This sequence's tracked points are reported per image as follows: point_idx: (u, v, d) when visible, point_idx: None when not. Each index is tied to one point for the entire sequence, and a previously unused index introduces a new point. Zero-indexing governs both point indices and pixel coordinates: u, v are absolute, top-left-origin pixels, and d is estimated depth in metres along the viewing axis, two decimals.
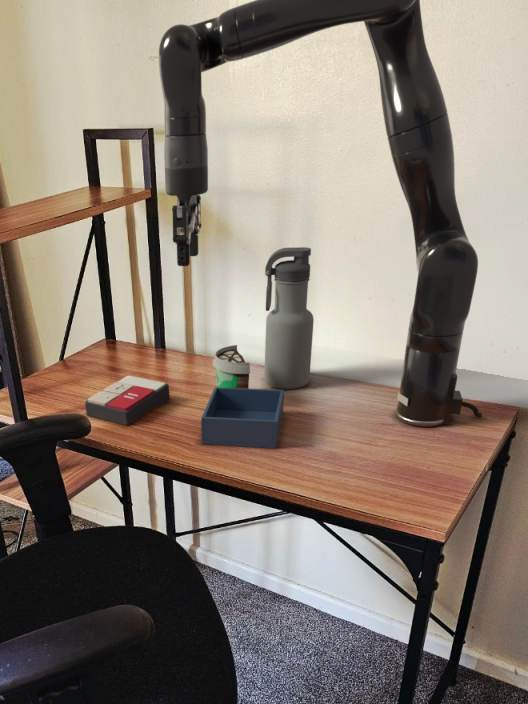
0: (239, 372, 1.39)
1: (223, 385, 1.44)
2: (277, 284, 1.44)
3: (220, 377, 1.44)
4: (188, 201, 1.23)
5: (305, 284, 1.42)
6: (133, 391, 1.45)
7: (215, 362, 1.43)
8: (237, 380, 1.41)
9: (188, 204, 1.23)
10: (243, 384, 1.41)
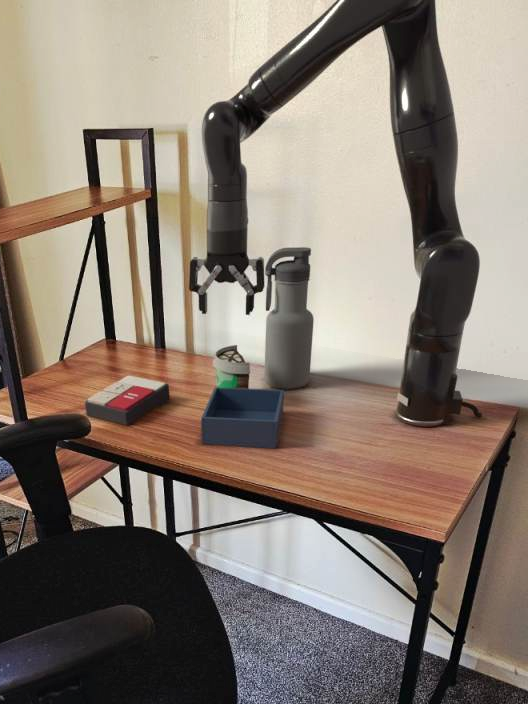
0: (239, 372, 1.39)
1: (223, 385, 1.44)
2: (277, 284, 1.44)
3: (220, 377, 1.44)
4: (207, 258, 1.33)
5: (305, 284, 1.42)
6: (133, 391, 1.45)
7: (215, 362, 1.43)
8: (237, 380, 1.41)
9: (206, 260, 1.33)
10: (243, 384, 1.41)
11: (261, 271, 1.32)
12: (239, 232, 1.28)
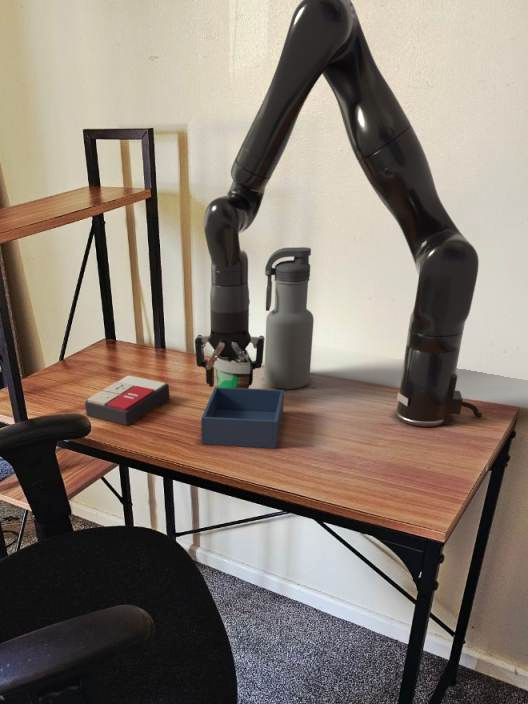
0: (239, 372, 1.39)
1: (223, 385, 1.44)
2: (277, 284, 1.44)
3: (220, 377, 1.44)
4: (211, 335, 1.41)
5: (305, 284, 1.42)
6: (133, 391, 1.45)
7: (215, 362, 1.43)
8: (237, 380, 1.41)
9: (210, 337, 1.41)
10: (243, 384, 1.41)
11: (261, 350, 1.40)
12: (241, 313, 1.36)
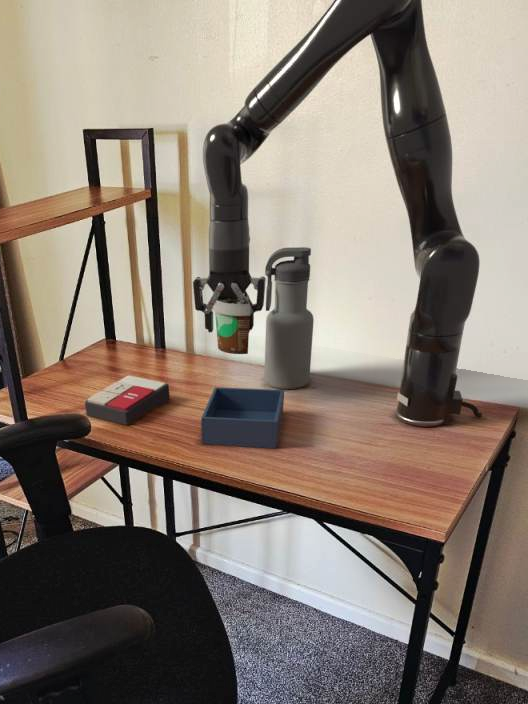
0: (239, 314, 1.33)
1: (222, 329, 1.38)
2: (277, 284, 1.44)
3: (219, 321, 1.38)
4: (210, 276, 1.35)
5: (305, 284, 1.42)
6: (133, 391, 1.45)
7: (214, 305, 1.37)
8: (237, 323, 1.35)
9: (209, 279, 1.35)
10: (243, 327, 1.36)
11: (262, 291, 1.34)
12: (241, 251, 1.30)
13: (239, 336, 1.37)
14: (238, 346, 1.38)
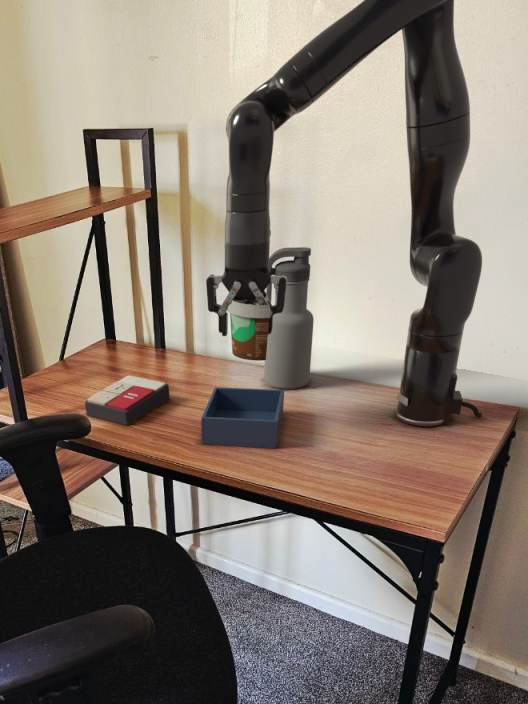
0: (257, 316, 1.20)
1: (238, 333, 1.25)
2: None
3: (234, 324, 1.24)
4: (225, 273, 1.21)
5: (305, 284, 1.42)
6: (133, 391, 1.45)
7: (229, 306, 1.23)
8: (255, 326, 1.22)
9: (224, 276, 1.22)
10: (262, 331, 1.22)
11: (283, 290, 1.20)
12: (261, 246, 1.16)
13: (257, 341, 1.23)
14: (256, 351, 1.24)
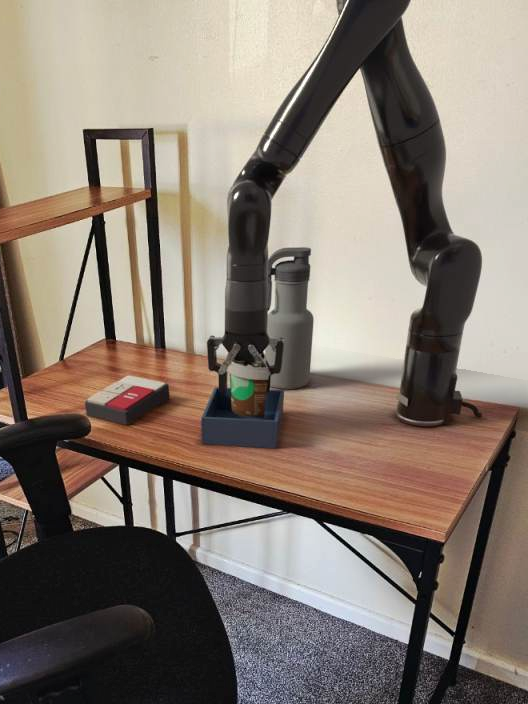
0: (256, 378, 1.25)
1: (237, 392, 1.30)
2: (277, 284, 1.44)
3: (234, 383, 1.29)
4: (225, 336, 1.26)
5: (305, 284, 1.42)
6: (133, 391, 1.45)
7: (229, 366, 1.28)
8: (254, 387, 1.27)
9: (224, 339, 1.27)
10: (260, 391, 1.27)
11: (281, 353, 1.25)
12: (259, 312, 1.21)
13: (255, 400, 1.28)
14: (254, 409, 1.29)
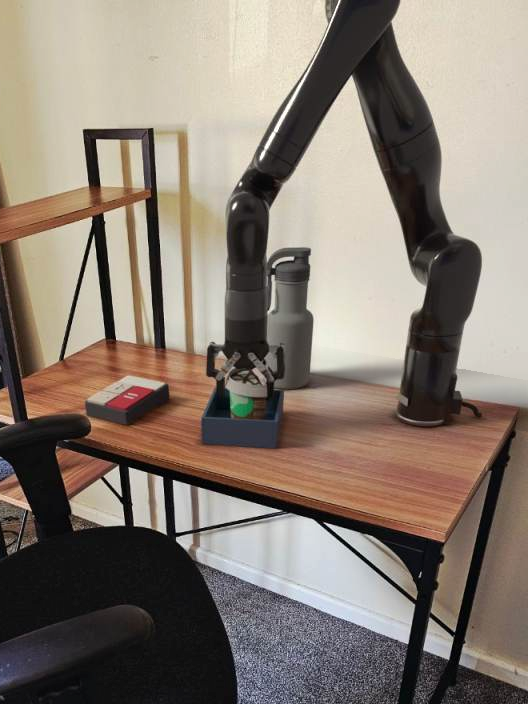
0: (255, 395, 1.27)
1: (236, 408, 1.31)
2: (277, 284, 1.44)
3: (233, 400, 1.31)
4: (225, 344, 1.27)
5: (305, 284, 1.42)
6: (133, 391, 1.45)
7: (228, 383, 1.30)
8: (253, 404, 1.28)
9: (224, 347, 1.28)
10: (259, 408, 1.29)
11: (282, 358, 1.26)
12: (259, 321, 1.22)
13: (255, 416, 1.30)
14: None
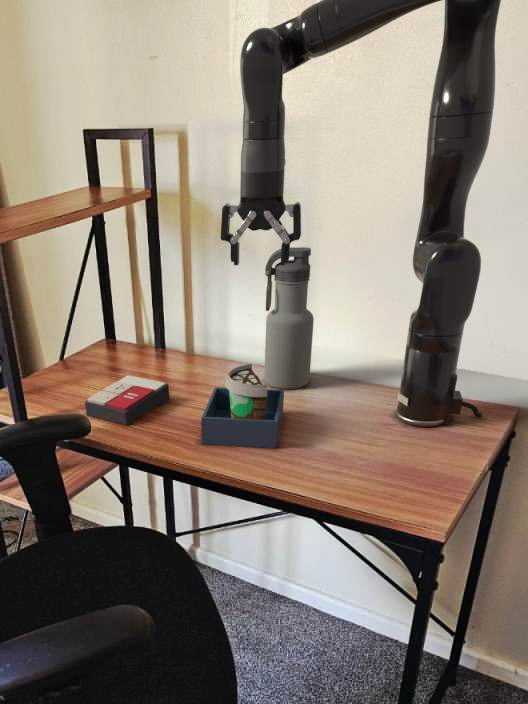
0: (255, 395, 1.27)
1: (236, 408, 1.31)
2: (277, 284, 1.44)
3: (233, 400, 1.31)
4: (240, 203, 1.25)
5: (305, 284, 1.42)
6: (133, 391, 1.45)
7: (228, 383, 1.30)
8: (253, 404, 1.28)
9: (240, 206, 1.25)
10: (259, 408, 1.29)
11: (298, 217, 1.24)
12: (276, 173, 1.20)
13: (255, 416, 1.30)
14: None
